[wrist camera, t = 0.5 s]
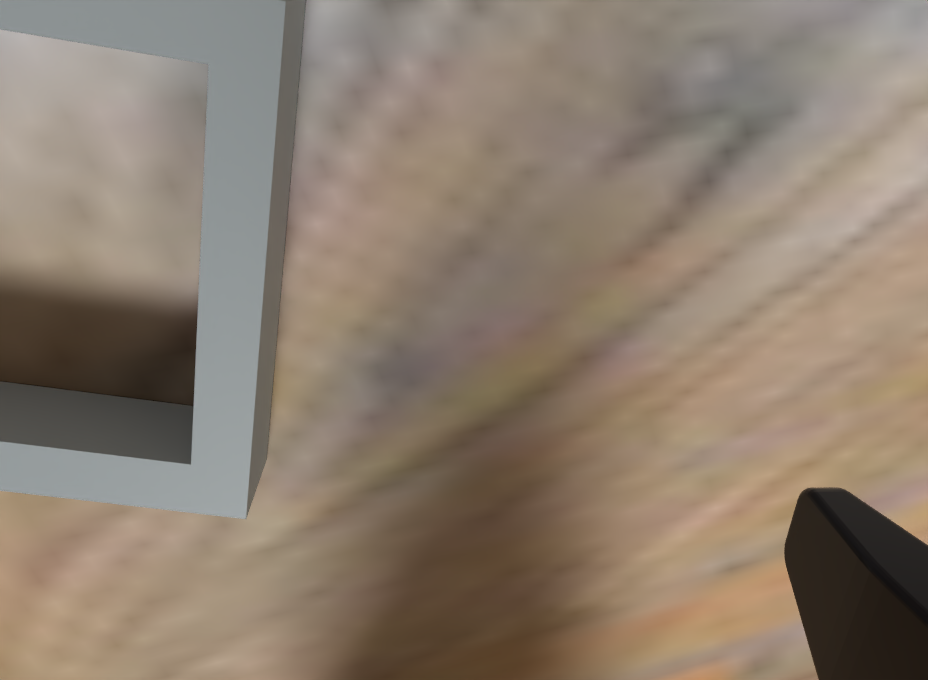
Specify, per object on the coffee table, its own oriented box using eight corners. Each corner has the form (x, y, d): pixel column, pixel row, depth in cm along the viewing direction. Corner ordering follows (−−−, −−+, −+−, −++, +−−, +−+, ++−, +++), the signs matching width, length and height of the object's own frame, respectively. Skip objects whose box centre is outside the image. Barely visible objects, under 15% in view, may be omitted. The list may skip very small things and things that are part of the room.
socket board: (266, 459, 25) (246, 519, 22) (-193, 402, 24) (-275, 458, 21) (306, -3, 20) (285, 1, 17) (-277, -106, 19) (-399, -120, 16)
